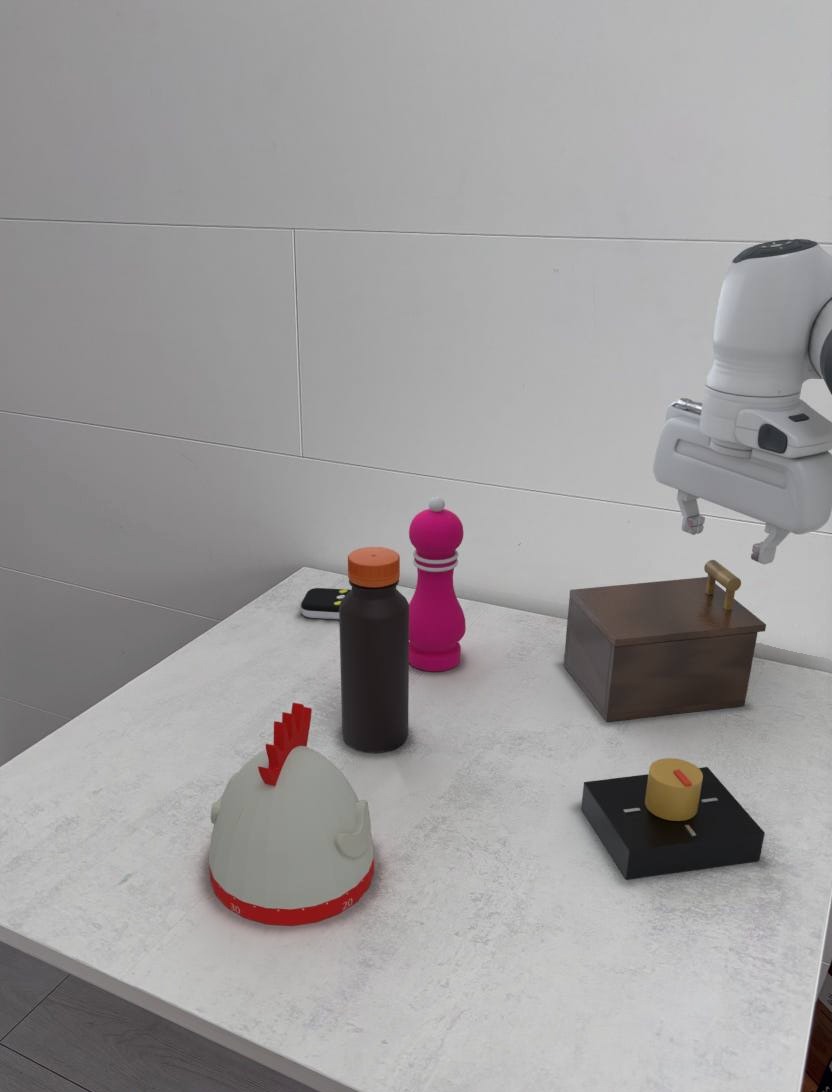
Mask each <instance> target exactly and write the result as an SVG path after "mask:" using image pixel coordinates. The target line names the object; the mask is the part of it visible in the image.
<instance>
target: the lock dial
mask: <svg viewBox="0 0 832 1092" xmlns="http://www.w3.org/2000/svg"><path fill="white" fill-rule="evenodd" d="M699 768H700V767H699V766H697V765H695V764H693V763H691V762H690V761H688V760H684V759H680V758H676V757H675V758H674V757H665V758H660V759H657V760H655V761H653V762H652V763H651V764H650V765H649V768H648V774H649V775H648V782H647V789H646V797H645V805H646V807H647V809H648V810H649V811H650V812H651V813H652V814H654V815H655V816H657V817H660V818H662V819H666V820H670V821H684V820H688V819H691V818H692V817H694V816H695V815H696V813H697V810H698V804H699V798H700V792H701V786H702V780H703V774H702V772H701V770H700V769H699Z"/></svg>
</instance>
